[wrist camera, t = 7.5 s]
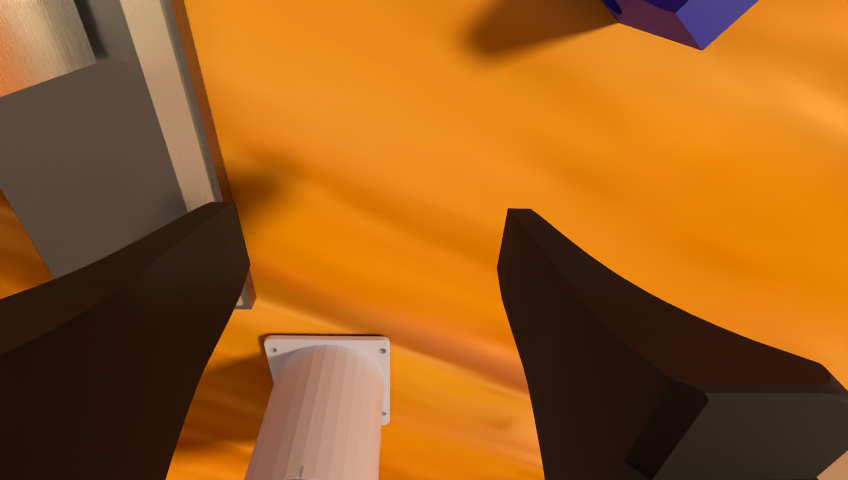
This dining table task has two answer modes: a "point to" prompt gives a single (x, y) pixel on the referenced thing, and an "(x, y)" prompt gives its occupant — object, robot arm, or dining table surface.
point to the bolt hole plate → (114, 139)
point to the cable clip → (680, 18)
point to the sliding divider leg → (40, 42)
